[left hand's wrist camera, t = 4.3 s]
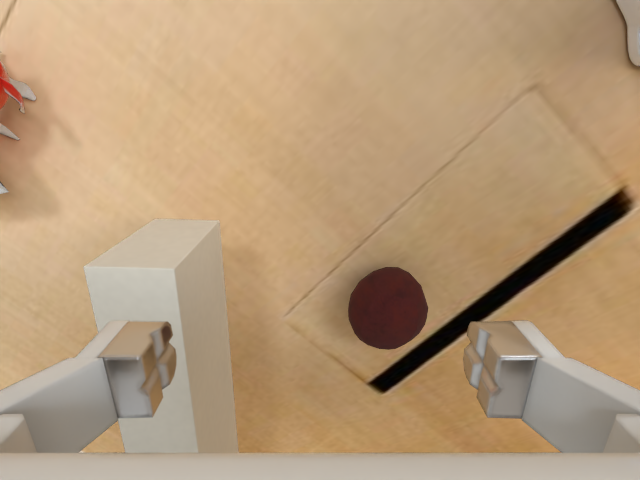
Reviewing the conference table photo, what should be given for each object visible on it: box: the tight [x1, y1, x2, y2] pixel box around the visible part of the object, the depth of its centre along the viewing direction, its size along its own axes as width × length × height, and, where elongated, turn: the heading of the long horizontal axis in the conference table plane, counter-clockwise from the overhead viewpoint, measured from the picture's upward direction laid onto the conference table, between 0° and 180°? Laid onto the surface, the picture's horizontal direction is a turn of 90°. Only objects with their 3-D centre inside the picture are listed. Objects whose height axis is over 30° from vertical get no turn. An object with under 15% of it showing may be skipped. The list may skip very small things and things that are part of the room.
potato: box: [348, 267, 428, 349], centre depth 35 cm, size 7×8×7 cm
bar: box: [84, 219, 239, 453], centre depth 29 cm, size 28×5×9 cm, turn 179°
